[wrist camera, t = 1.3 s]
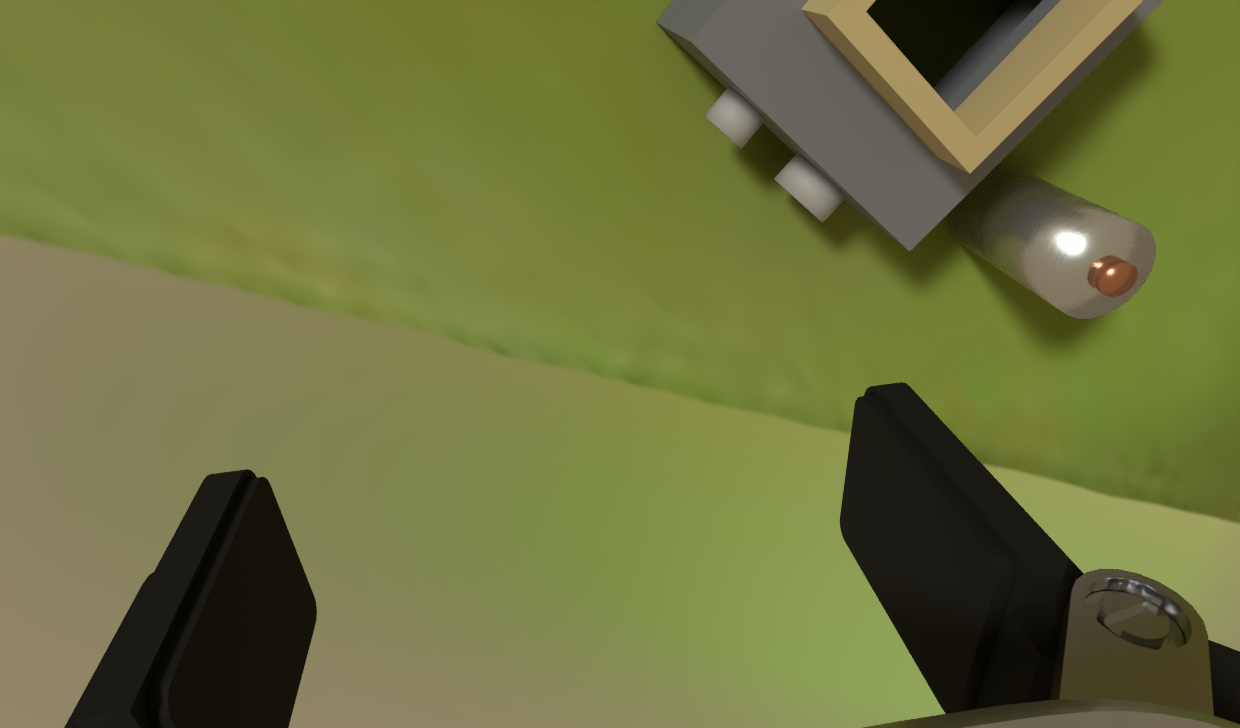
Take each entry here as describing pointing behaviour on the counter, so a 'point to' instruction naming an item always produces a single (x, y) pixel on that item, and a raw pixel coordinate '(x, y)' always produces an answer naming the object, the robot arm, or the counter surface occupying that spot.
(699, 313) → the counter surface
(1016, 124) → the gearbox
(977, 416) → the counter surface
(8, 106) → the counter surface
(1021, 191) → the spout can
